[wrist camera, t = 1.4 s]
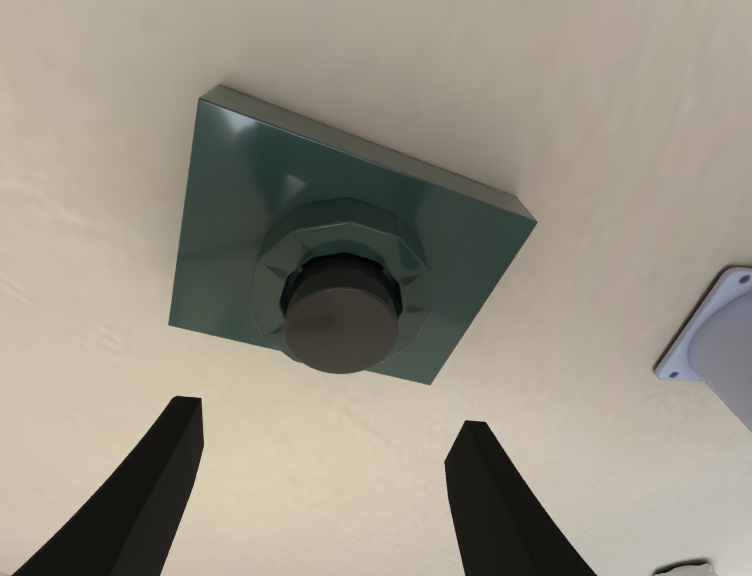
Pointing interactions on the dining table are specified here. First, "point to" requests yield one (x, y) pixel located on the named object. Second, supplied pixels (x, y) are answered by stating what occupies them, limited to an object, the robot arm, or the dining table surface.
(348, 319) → the dark grey push button
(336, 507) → the dining table surface
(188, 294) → the green push button box
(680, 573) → the chubby white toad
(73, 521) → the robot arm
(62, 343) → the dining table surface
